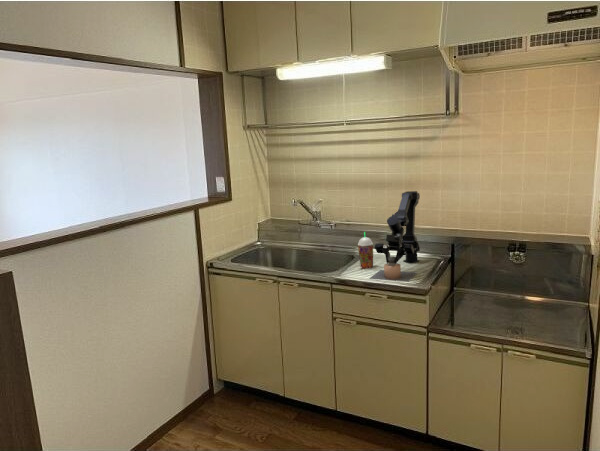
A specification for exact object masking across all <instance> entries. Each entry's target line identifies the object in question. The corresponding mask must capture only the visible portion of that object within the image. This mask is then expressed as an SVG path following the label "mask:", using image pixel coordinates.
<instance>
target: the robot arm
mask: <svg viewBox="0 0 600 451" xmlns="http://www.w3.org/2000/svg"><path fill="white" fill-rule="evenodd" d="M420 198H421V197H420V192H418V191H417V190H413V191H409V190H408V191H405V192H402V193H401V200H400V204H399V206H398V210H397V211H396V212H395V213H394V214H392V215H391V216H389V217H388V218H387V219H386V223H387V226H388V228H389V230H390V231H391V233H390V234H386V236H385V238H386V239H385V242H386V243H387V244H384V242H376V243H375V244H374V249H375V251H376V253H377V254H384V255H385V262H386V264H389V263H388V257H391V253H390V251H396V255H395V262H394V263H395V264H396V263H397V264H398V262H399V261H400V260H401V259H402V258H403V257H404V256H405V259H404V260H403V262H405V263H408V264H414V263H417V262H420V260H419V259H418V252H420V251H421V247H420V244H419V242H418V237H417V235H416V234H415V224H416V222H415V221H416V220H415V218H416V207H417V206H418V204H419V200H420ZM404 227H405V229H404ZM404 230H405V231H404Z"/></svg>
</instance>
